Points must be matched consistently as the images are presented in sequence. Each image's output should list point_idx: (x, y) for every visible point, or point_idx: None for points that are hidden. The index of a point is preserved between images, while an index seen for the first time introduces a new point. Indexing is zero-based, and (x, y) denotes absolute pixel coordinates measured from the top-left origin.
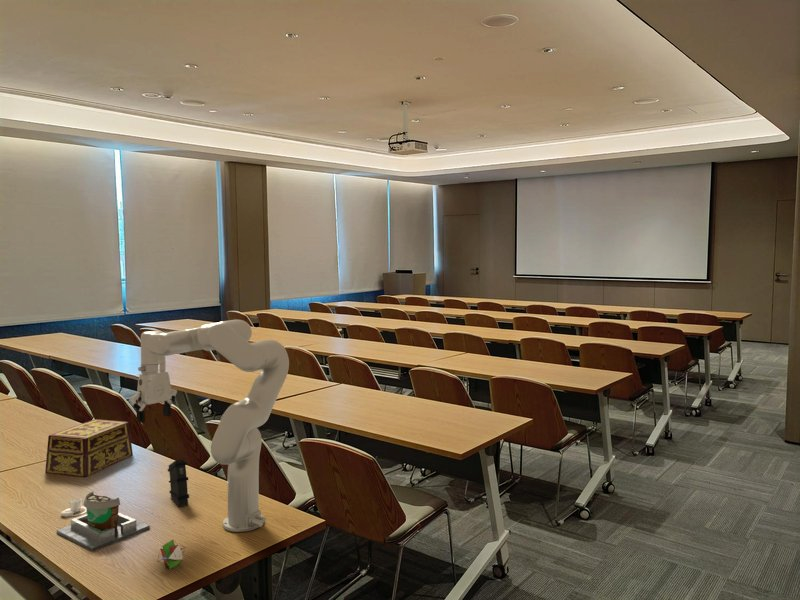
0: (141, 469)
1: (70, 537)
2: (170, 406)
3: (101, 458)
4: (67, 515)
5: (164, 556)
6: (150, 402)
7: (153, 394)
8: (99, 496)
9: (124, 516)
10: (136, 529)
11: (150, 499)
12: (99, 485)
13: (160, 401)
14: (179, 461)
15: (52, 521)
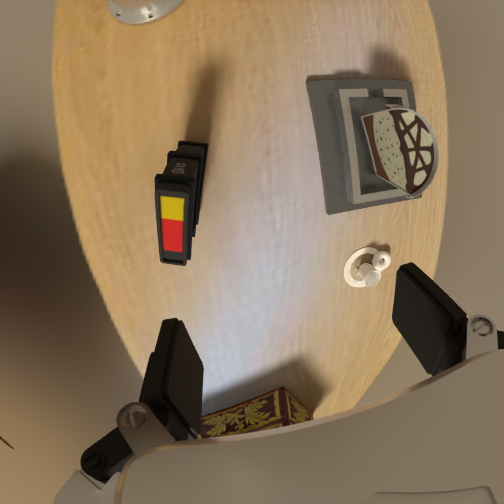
0: None
1: None
2: (143, 393)
3: (252, 415)
4: (384, 251)
5: None
6: (484, 369)
7: (495, 481)
8: (410, 167)
9: (349, 126)
10: (335, 84)
11: (238, 232)
12: (282, 351)
13: (323, 424)
14: (175, 187)
15: (402, 249)
